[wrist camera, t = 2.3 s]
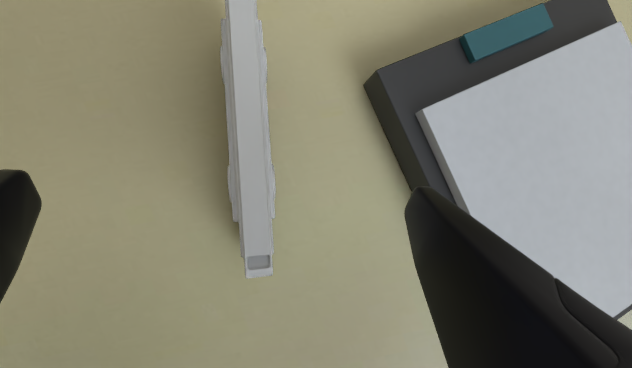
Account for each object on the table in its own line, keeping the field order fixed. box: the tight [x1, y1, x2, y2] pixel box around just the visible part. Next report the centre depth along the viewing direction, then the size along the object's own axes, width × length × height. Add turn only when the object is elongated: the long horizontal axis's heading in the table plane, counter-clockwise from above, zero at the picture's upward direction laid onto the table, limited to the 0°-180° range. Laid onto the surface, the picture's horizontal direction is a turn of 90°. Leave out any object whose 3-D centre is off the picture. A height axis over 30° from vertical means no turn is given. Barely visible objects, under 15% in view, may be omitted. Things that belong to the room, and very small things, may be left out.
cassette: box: [220, 0, 276, 278], centre depth 15 cm, size 12×2×8 cm, turn 4°
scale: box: [364, 0, 632, 320], centre depth 20 cm, size 19×17×3 cm
